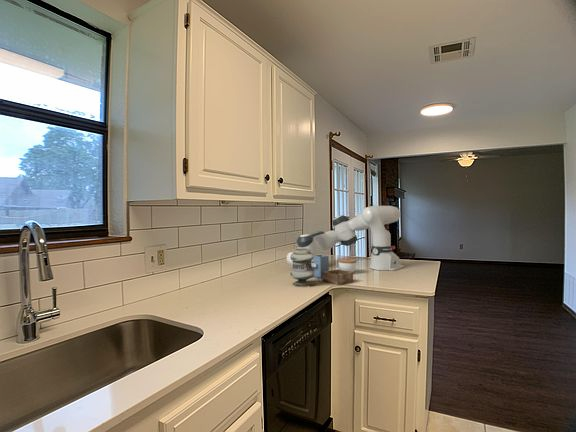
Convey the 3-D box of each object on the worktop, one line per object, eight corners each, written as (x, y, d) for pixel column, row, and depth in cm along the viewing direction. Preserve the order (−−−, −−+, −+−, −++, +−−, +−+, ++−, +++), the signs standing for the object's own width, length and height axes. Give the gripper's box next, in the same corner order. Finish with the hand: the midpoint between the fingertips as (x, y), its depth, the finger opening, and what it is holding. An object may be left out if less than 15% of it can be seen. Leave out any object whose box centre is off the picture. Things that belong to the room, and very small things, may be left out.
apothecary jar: (286, 285, 163) (285, 250, 163) (296, 280, 174) (296, 247, 173) (308, 288, 158) (308, 251, 157) (318, 283, 168) (317, 248, 168)
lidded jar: (358, 274, 187) (358, 258, 187) (339, 274, 187) (339, 258, 187) (355, 271, 198) (355, 255, 197) (337, 271, 198) (337, 255, 198)
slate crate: (321, 275, 186) (321, 254, 185) (328, 277, 181) (328, 255, 180) (313, 277, 182) (313, 255, 182) (320, 279, 177) (320, 257, 177)
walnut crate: (337, 278, 179) (337, 269, 178) (352, 281, 170) (352, 272, 170) (322, 281, 172) (322, 271, 172) (337, 285, 163) (337, 275, 163)
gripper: (319, 264, 198) (335, 267, 187) (292, 268, 186) (307, 272, 175) (319, 254, 198) (335, 256, 186) (292, 257, 186) (307, 260, 174)
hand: (322, 264), depth 180 cm, fingers closed on slate crate, 6 cm apart
